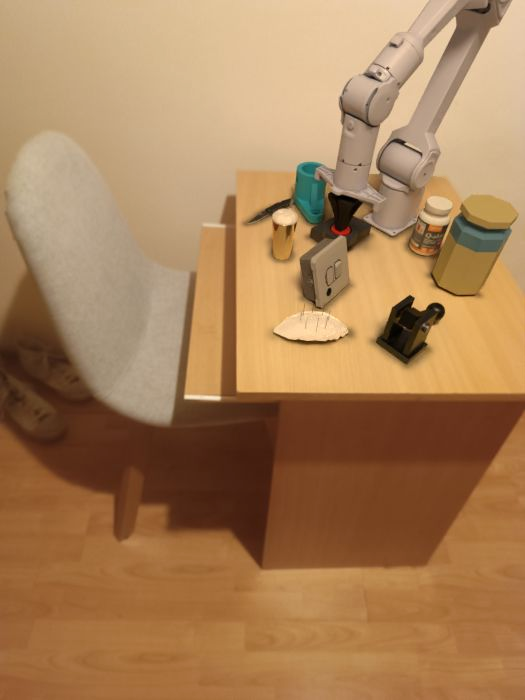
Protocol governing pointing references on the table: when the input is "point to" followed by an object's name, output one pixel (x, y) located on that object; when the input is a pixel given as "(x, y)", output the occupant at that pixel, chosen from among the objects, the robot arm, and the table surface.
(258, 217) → the folding knife
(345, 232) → the button
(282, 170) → the table surface
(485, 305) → the table surface
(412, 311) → the lever
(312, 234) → the control block
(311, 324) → the pincushion
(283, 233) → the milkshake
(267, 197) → the table surface
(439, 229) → the pill bottle
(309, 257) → the electrical switch
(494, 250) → the jar
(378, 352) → the table surface
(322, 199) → the bracket
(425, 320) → the bracket
